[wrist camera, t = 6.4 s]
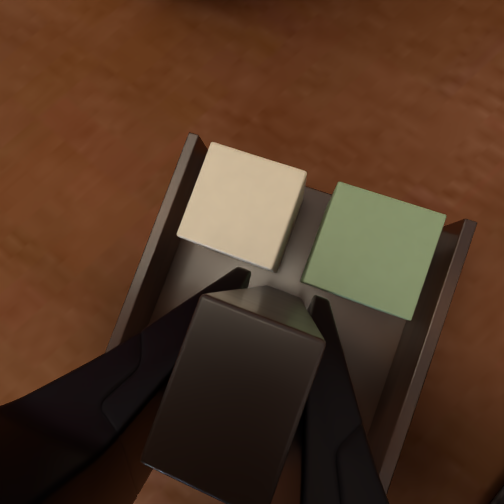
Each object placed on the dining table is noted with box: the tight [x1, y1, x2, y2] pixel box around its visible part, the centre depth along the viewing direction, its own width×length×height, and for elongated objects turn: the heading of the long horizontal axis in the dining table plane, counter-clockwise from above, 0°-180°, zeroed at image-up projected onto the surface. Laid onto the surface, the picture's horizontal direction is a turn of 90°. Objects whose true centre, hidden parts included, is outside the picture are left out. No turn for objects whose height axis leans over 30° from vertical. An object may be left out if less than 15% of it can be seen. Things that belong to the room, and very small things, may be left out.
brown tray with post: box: [105, 133, 477, 504], centre depth 10 cm, size 13×13×12 cm
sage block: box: [300, 182, 446, 321], centre depth 14 cm, size 4×4×4 cm
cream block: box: [177, 142, 307, 273], centre depth 15 cm, size 4×4×4 cm
